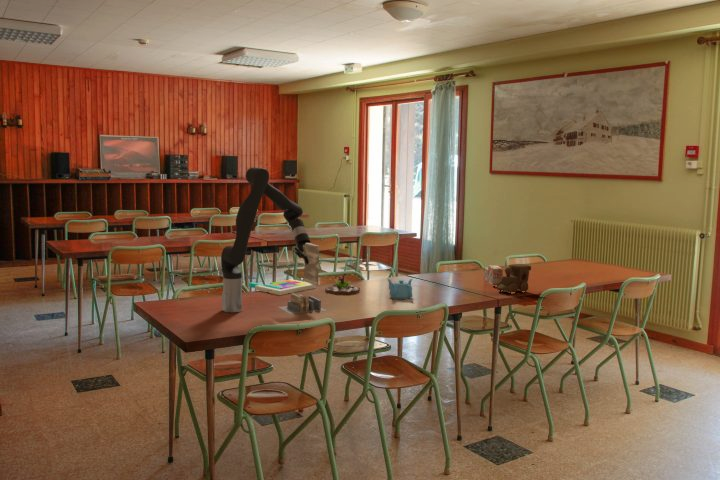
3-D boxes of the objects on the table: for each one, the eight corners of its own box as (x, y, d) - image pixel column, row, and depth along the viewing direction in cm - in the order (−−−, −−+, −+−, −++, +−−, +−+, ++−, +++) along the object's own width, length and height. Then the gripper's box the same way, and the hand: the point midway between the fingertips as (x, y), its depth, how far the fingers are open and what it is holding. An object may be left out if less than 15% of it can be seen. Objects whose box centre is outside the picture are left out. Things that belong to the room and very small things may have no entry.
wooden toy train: (516, 289, 412) (518, 263, 410) (531, 292, 403) (532, 265, 400) (494, 292, 400) (496, 265, 398) (508, 295, 391) (510, 268, 389)
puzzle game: (315, 288, 397) (281, 281, 415) (315, 284, 396) (281, 277, 415) (279, 296, 374) (245, 288, 392) (279, 291, 373) (245, 283, 392)
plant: (352, 296, 377) (353, 277, 376) (321, 293, 383) (321, 274, 382) (363, 290, 396) (364, 272, 394) (333, 287, 402) (333, 269, 401)
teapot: (414, 300, 369) (415, 283, 368) (388, 300, 369) (388, 282, 368) (411, 295, 384) (412, 278, 383) (386, 294, 383) (386, 277, 382)
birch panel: (313, 285, 331) (315, 246, 329) (304, 280, 342) (305, 242, 339) (318, 284, 332) (319, 245, 330) (308, 280, 343) (309, 242, 340)
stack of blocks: (483, 281, 436) (484, 262, 435) (492, 281, 437) (493, 263, 435) (492, 287, 415) (493, 268, 414) (502, 287, 416) (503, 268, 414)
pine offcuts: (300, 311, 329) (300, 298, 328) (290, 306, 340) (291, 293, 339) (308, 310, 332) (309, 297, 331) (299, 305, 342) (299, 292, 341)
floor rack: (290, 316, 325) (290, 304, 324) (277, 309, 338) (278, 297, 338) (326, 313, 334) (326, 300, 333) (312, 306, 348) (313, 294, 347)
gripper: (291, 232, 340) (300, 259, 331) (315, 232, 347) (324, 258, 338) (287, 241, 345) (295, 268, 336) (310, 240, 352) (320, 267, 343)
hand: (310, 263), depth 337 cm, fingers closed on birch panel, 2 cm apart
